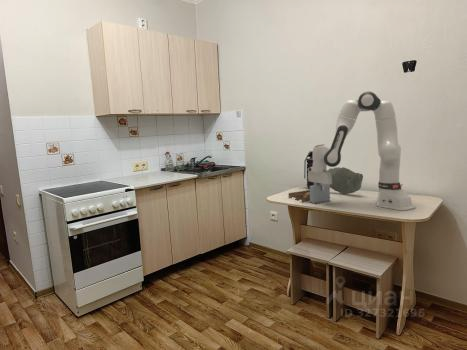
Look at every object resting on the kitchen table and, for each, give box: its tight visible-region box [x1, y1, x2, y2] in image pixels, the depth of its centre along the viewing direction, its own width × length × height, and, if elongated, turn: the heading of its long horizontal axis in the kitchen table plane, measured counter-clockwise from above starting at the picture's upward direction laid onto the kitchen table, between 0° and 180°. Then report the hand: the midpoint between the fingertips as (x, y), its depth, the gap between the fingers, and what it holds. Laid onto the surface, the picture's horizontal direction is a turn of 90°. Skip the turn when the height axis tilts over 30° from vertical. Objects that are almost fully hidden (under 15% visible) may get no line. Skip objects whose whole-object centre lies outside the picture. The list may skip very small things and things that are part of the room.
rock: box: [328, 166, 364, 195], centre depth 235 cm, size 27×6×20 cm, turn 45°
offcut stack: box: [302, 192, 310, 198], centre depth 228 cm, size 4×10×4 cm, turn 115°
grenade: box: [303, 150, 320, 190], centre depth 264 cm, size 14×12×30 cm
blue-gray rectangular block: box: [309, 184, 331, 204], centre depth 219 cm, size 4×14×11 cm, turn 115°
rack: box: [288, 189, 310, 203], centre depth 232 cm, size 17×20×4 cm
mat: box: [308, 199, 331, 205], centre depth 220 cm, size 7×13×1 cm, turn 115°
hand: (319, 189), depth 219 cm, fingers open, 5 cm apart
